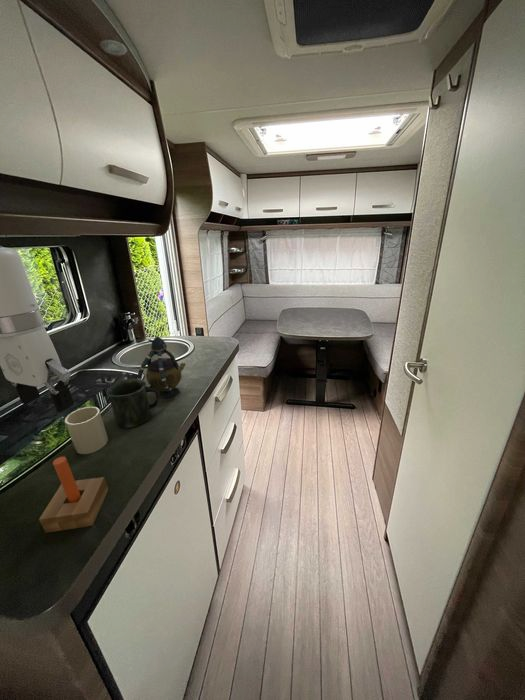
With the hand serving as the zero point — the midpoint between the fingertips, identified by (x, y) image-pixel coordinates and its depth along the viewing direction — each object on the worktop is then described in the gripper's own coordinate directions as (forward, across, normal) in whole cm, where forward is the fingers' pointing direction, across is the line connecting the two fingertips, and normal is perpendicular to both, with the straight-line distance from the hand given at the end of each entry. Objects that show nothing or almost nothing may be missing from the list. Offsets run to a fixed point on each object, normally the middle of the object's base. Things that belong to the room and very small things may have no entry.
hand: (48, 404), depth 55 cm
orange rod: (+24, +3, -4) cm, 25 cm away
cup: (+24, -12, +13) cm, 30 cm away
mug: (+24, -8, +27) cm, 38 cm away
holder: (+24, +3, -4) cm, 25 cm away
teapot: (+24, -8, +46) cm, 53 cm away
